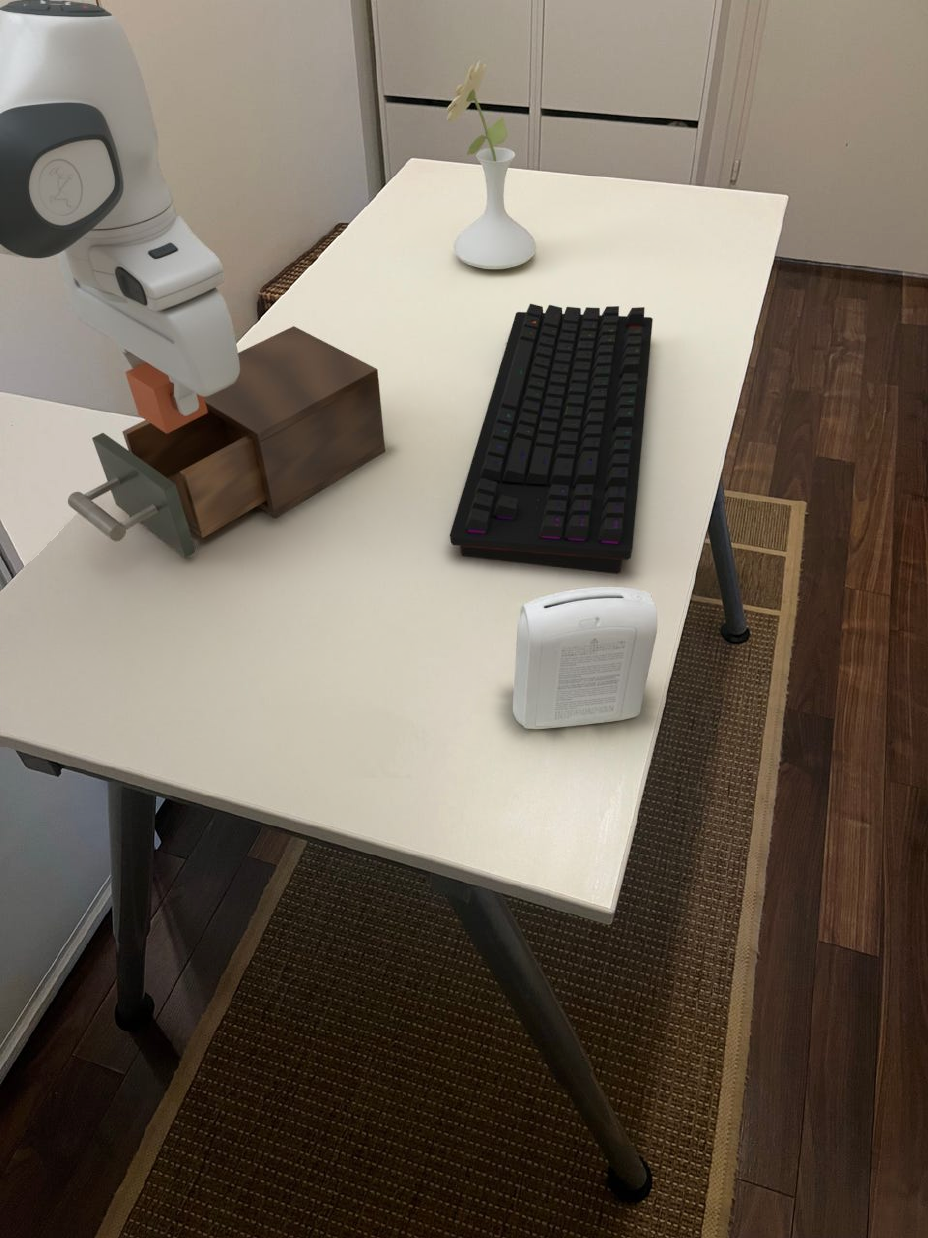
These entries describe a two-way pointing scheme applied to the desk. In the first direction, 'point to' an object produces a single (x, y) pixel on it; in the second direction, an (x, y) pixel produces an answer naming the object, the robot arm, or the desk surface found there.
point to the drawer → (175, 480)
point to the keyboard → (560, 442)
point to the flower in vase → (490, 193)
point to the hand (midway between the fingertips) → (168, 398)
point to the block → (158, 398)
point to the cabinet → (303, 414)
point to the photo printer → (583, 656)
